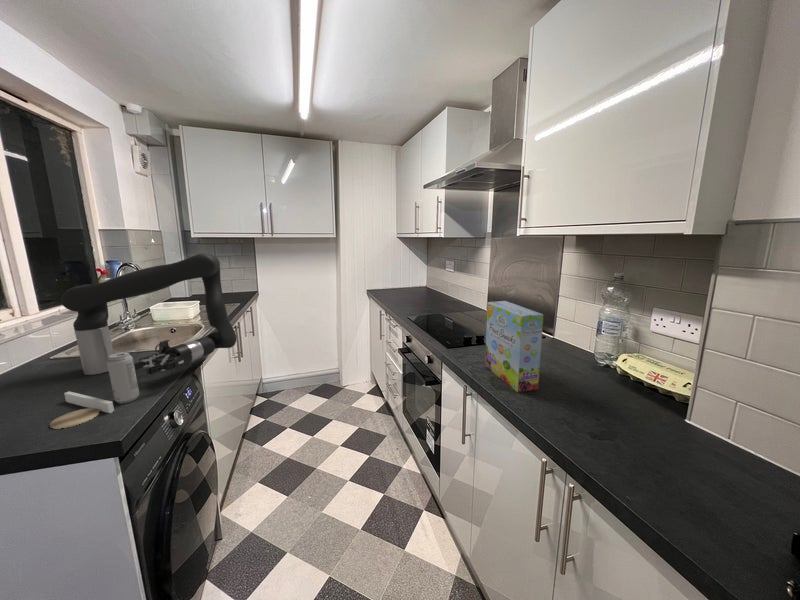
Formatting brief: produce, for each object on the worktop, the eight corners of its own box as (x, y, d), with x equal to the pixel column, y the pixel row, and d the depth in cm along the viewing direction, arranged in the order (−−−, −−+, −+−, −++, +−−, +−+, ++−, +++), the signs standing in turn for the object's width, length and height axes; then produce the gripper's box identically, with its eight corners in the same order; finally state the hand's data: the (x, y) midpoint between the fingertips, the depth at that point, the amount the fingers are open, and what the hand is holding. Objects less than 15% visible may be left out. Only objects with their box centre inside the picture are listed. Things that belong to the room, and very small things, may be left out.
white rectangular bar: (66, 401, 100) (64, 393, 99) (71, 400, 101) (69, 391, 101) (109, 413, 93) (107, 403, 93) (114, 411, 94) (112, 401, 94)
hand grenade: (166, 368, 125) (162, 343, 123) (156, 367, 126) (152, 343, 124) (179, 362, 131) (175, 339, 129) (169, 361, 132) (165, 338, 130)
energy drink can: (120, 397, 103) (111, 352, 100) (142, 393, 105) (134, 350, 102) (111, 406, 97) (101, 359, 94) (135, 402, 99) (126, 356, 96)
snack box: (482, 367, 122) (485, 301, 117) (502, 364, 124) (506, 300, 119) (516, 393, 101) (521, 315, 96) (540, 390, 104) (546, 313, 99)
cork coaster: (41, 425, 88) (41, 423, 88) (86, 406, 97) (86, 405, 97) (63, 432, 84) (63, 430, 84) (107, 412, 94) (107, 411, 93)
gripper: (170, 341, 120) (121, 356, 105) (198, 345, 115) (151, 361, 100) (173, 360, 122) (125, 378, 107) (201, 364, 117) (155, 384, 102)
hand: (138, 370), depth 103 cm, fingers open, 8 cm apart
